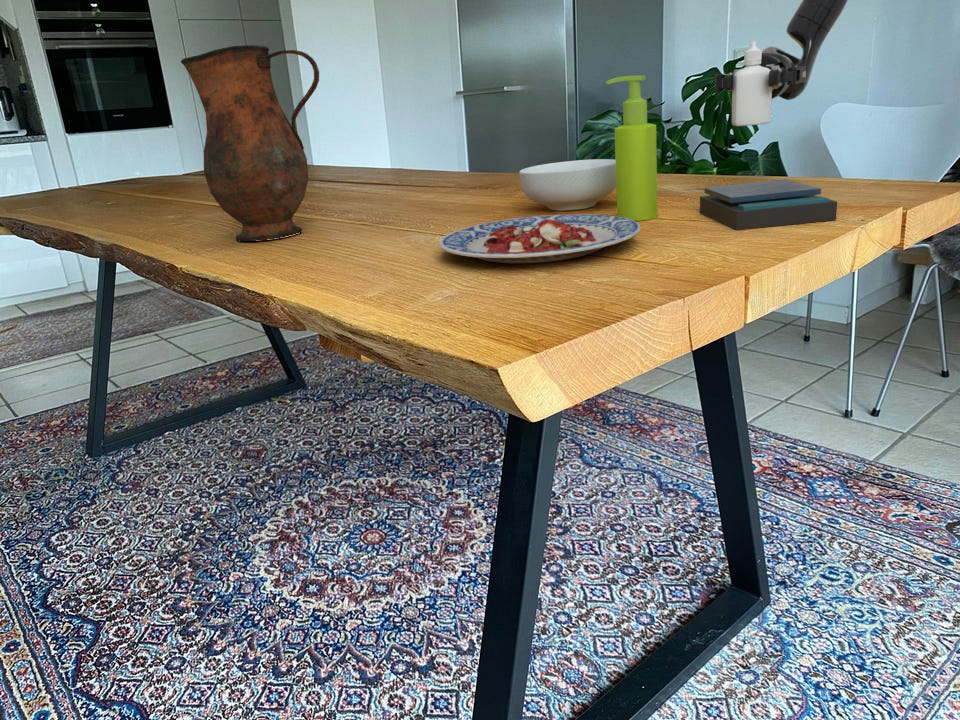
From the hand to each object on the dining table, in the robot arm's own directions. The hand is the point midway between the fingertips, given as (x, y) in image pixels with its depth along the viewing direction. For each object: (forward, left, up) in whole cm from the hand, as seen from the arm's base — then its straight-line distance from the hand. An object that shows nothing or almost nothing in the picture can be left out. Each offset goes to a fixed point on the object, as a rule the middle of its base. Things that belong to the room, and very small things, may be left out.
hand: (749, 80), depth 110 cm
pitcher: (+76, -11, -18) cm, 79 cm away
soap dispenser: (+19, +6, -18) cm, 27 cm away
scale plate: (+3, +13, -15) cm, 20 cm away
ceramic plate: (+35, +22, -18) cm, 45 cm away
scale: (+3, +15, -18) cm, 23 cm away
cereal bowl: (+26, -10, -18) cm, 33 cm away
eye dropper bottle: (-1, -2, -7) cm, 7 cm away
